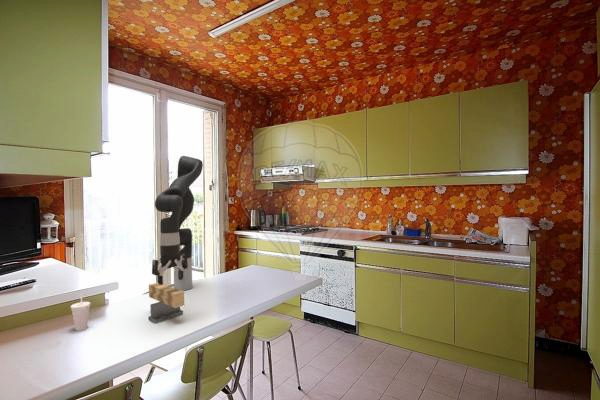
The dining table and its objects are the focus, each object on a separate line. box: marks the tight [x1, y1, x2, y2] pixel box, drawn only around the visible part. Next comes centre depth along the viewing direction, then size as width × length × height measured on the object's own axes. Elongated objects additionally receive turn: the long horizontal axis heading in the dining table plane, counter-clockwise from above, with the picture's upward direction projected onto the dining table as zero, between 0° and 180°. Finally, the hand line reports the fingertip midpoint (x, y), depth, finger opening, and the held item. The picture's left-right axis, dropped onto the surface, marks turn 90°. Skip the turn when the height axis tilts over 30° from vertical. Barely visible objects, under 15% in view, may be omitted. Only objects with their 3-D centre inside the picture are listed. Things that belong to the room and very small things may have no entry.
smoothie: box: [70, 293, 91, 332], centre depth 120 cm, size 6×6×14 cm
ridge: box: [147, 301, 184, 325], centre depth 130 cm, size 6×12×7 cm, turn 142°
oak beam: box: [148, 282, 185, 308], centre depth 130 cm, size 22×4×6 cm, turn 51°
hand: (170, 282), depth 127 cm, fingers open, 8 cm apart
